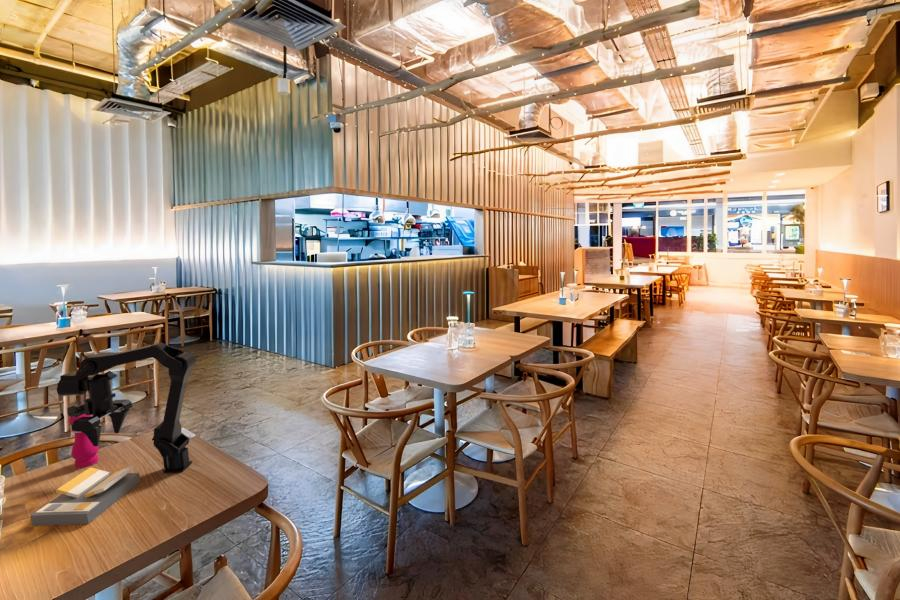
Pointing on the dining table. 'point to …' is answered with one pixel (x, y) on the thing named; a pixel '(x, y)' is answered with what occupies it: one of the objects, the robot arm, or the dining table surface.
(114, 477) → the switch
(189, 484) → the dining table surface
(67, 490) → the switch
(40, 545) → the dining table surface
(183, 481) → the dining table surface
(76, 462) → the pepper mill
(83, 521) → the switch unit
